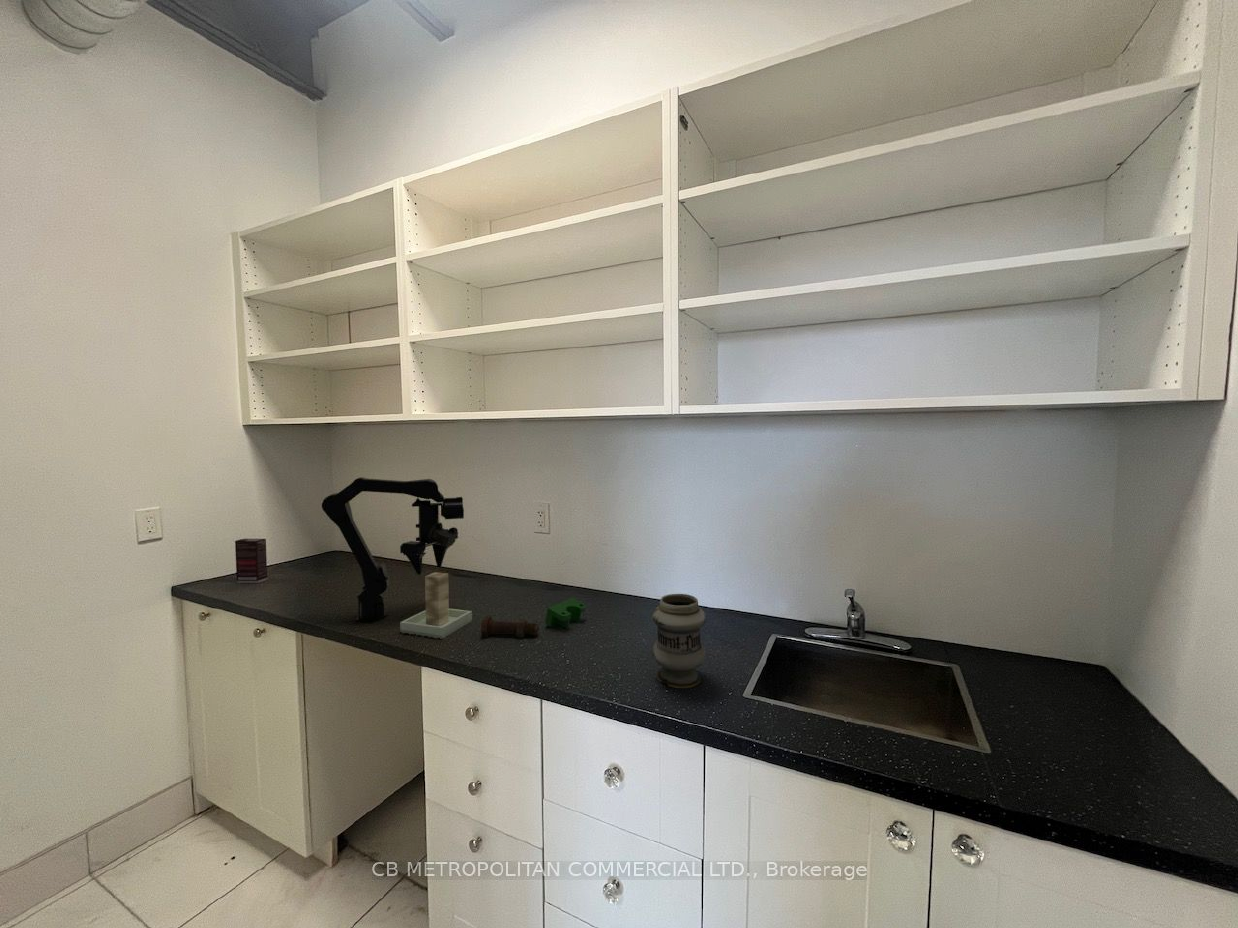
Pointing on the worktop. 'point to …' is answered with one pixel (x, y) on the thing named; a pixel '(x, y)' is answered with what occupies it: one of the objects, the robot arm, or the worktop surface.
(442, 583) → the maple block
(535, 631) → the bolt
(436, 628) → the tray
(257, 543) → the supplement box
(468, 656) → the worktop surface
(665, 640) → the apothecary jar
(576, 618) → the clamp
